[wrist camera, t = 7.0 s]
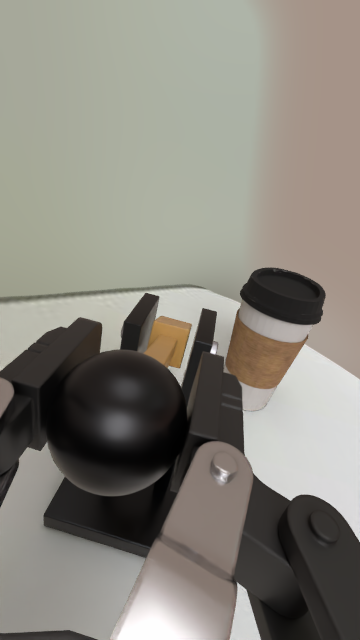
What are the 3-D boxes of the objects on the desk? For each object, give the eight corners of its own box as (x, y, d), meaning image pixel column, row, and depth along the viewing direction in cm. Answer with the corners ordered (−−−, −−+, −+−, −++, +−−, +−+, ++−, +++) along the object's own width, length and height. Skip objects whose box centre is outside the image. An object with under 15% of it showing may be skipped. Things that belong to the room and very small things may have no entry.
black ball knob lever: (158, 557, 6) (202, 399, 6) (-2, 507, 6) (29, 350, 6) (190, 368, 20) (204, 318, 20) (140, 354, 20) (152, 304, 20)
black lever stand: (187, 571, 19) (264, 407, 12) (43, 525, 20) (40, 344, 13) (204, 430, 30) (251, 299, 23) (110, 402, 30) (128, 267, 23)
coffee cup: (284, 392, 38) (337, 286, 31) (265, 433, 31) (327, 308, 24) (226, 362, 41) (262, 260, 34) (197, 393, 34) (235, 273, 27)
